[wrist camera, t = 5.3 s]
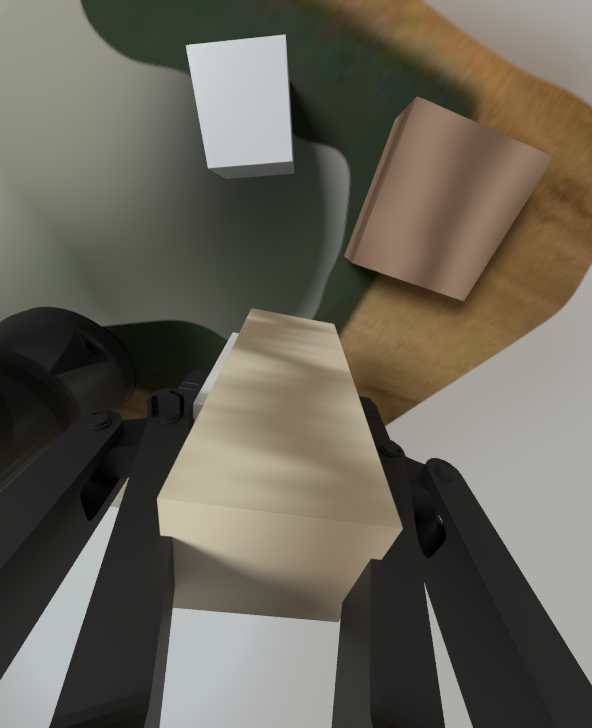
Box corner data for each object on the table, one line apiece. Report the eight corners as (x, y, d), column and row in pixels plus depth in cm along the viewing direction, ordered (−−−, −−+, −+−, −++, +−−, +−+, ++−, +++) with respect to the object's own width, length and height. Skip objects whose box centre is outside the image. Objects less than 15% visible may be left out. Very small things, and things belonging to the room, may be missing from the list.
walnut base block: (343, 255, 27) (351, 263, 23) (394, 120, 22) (417, 96, 18) (439, 288, 29) (463, 301, 24) (507, 168, 23) (554, 157, 19)
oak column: (243, 379, 18) (167, 606, 7) (251, 308, 16) (157, 498, 5) (315, 391, 18) (338, 621, 8) (334, 324, 16) (402, 528, 6)
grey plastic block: (228, 179, 24) (208, 168, 19) (214, 88, 21) (185, 45, 16) (294, 173, 24) (292, 161, 18) (289, 80, 21) (285, 34, 16)
